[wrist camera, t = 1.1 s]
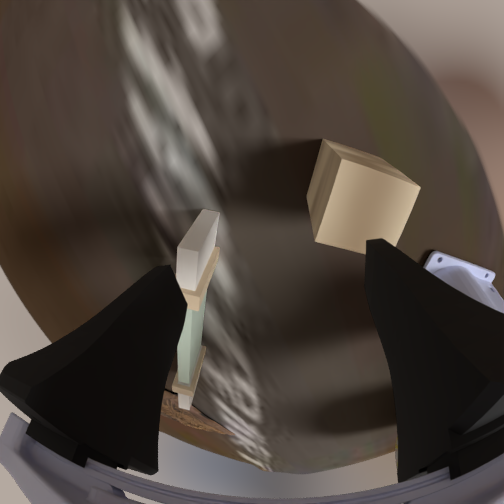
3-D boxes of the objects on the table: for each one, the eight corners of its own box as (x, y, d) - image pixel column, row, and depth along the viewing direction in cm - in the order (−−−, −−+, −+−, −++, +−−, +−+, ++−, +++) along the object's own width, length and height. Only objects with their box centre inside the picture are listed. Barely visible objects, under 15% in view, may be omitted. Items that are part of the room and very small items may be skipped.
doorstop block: (380, 157, 15) (420, 187, 10) (361, 211, 17) (388, 260, 12) (322, 138, 15) (342, 158, 10) (306, 196, 17) (314, 241, 12)
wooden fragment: (96, 368, 35) (93, 372, 34) (124, 352, 31) (121, 358, 30) (209, 435, 44) (208, 440, 43) (252, 429, 40) (251, 434, 39)
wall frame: (225, 213, 19) (204, 257, 14) (202, 374, 30) (192, 414, 25) (197, 207, 19) (167, 249, 14) (186, 370, 30) (174, 409, 25)
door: (209, 266, 21) (192, 310, 17) (201, 345, 26) (189, 383, 22) (189, 262, 21) (168, 303, 17) (185, 341, 26) (172, 379, 22)
